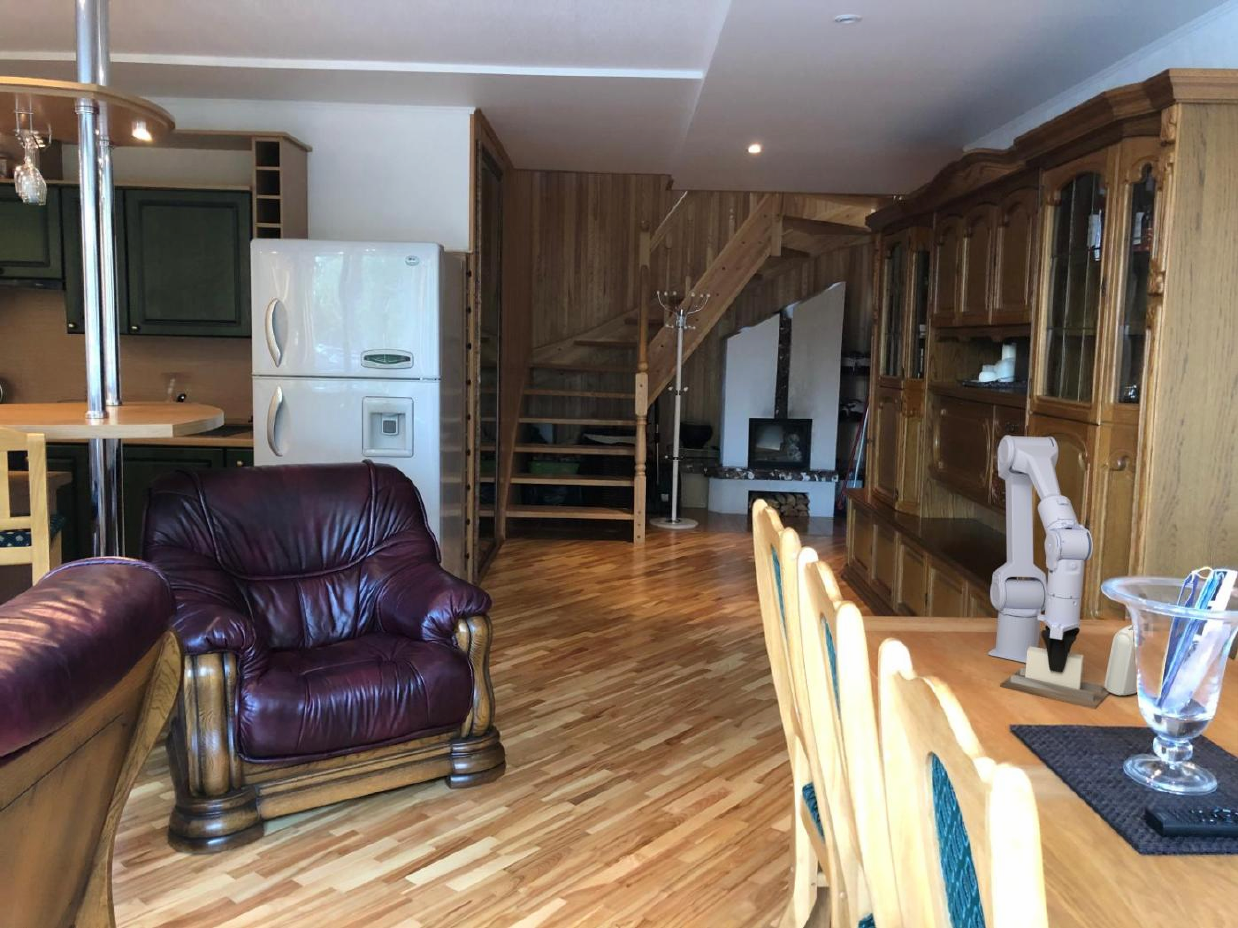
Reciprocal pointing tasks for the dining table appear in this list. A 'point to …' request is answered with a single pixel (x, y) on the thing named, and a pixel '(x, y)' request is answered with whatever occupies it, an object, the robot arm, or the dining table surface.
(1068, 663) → the cream rectangular block
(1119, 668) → the cream rounded upright block
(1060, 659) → the robot arm
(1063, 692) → the track board
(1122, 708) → the dining table surface
